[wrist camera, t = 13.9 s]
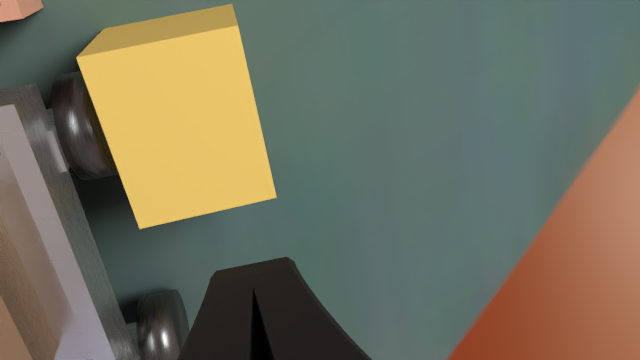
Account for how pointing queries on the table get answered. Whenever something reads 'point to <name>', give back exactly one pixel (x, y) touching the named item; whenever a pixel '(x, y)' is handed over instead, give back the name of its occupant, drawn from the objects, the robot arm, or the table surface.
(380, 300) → the table surface
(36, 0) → the tray
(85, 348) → the trolley
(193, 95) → the chock
